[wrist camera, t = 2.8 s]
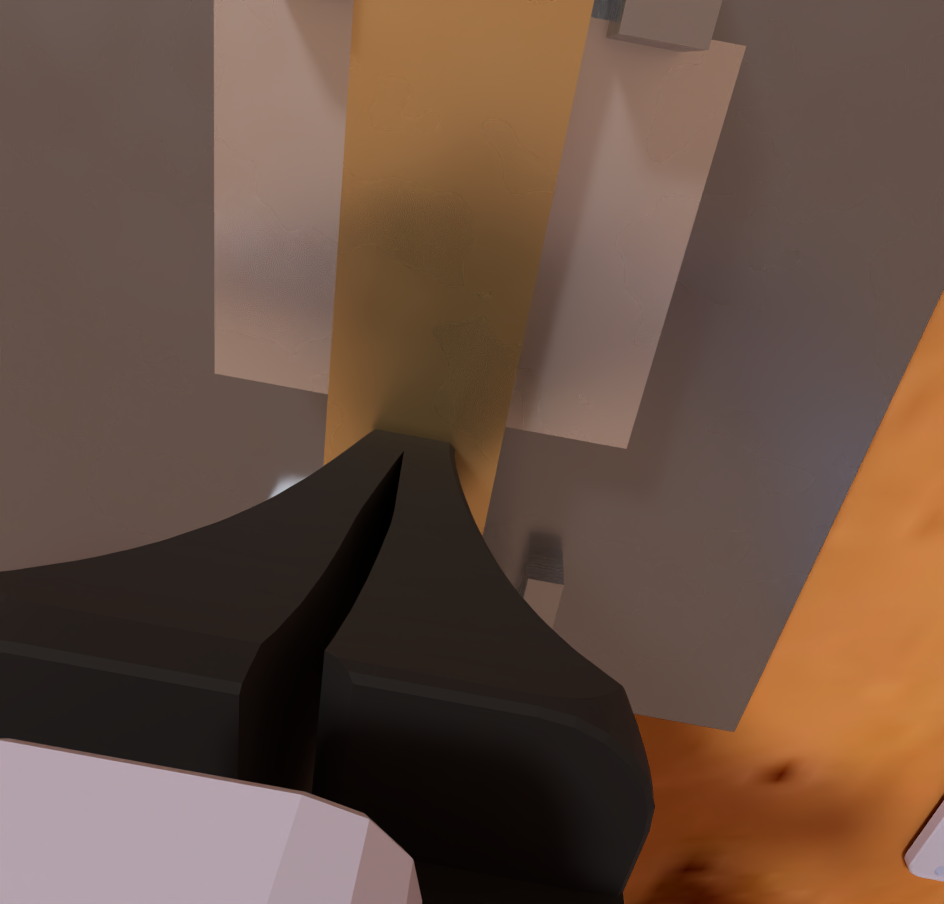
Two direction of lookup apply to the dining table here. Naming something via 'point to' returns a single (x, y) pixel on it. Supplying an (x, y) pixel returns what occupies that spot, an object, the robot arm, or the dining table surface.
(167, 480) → the base plate
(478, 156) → the strap
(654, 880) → the dining table surface
